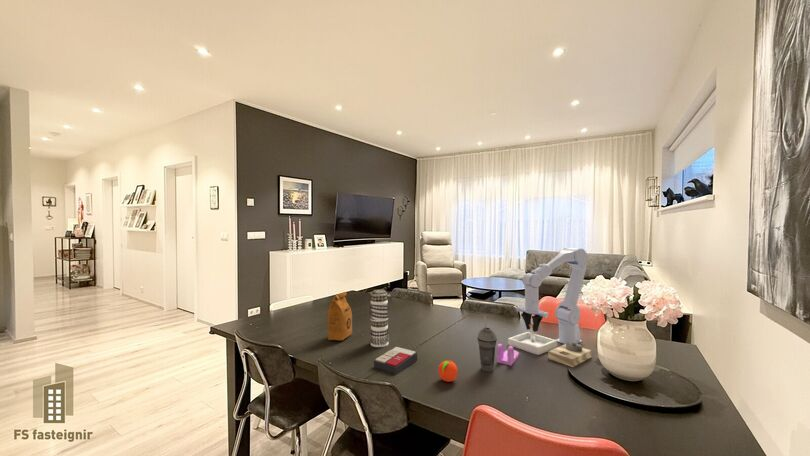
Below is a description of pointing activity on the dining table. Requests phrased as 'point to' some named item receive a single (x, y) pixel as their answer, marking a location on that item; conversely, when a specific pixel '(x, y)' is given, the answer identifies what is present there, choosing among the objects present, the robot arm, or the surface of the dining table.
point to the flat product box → (395, 360)
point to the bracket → (506, 355)
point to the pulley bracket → (569, 354)
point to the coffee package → (339, 318)
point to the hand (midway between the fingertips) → (532, 330)
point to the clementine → (447, 371)
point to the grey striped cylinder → (379, 318)
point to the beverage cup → (487, 347)
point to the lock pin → (532, 333)
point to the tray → (536, 348)
